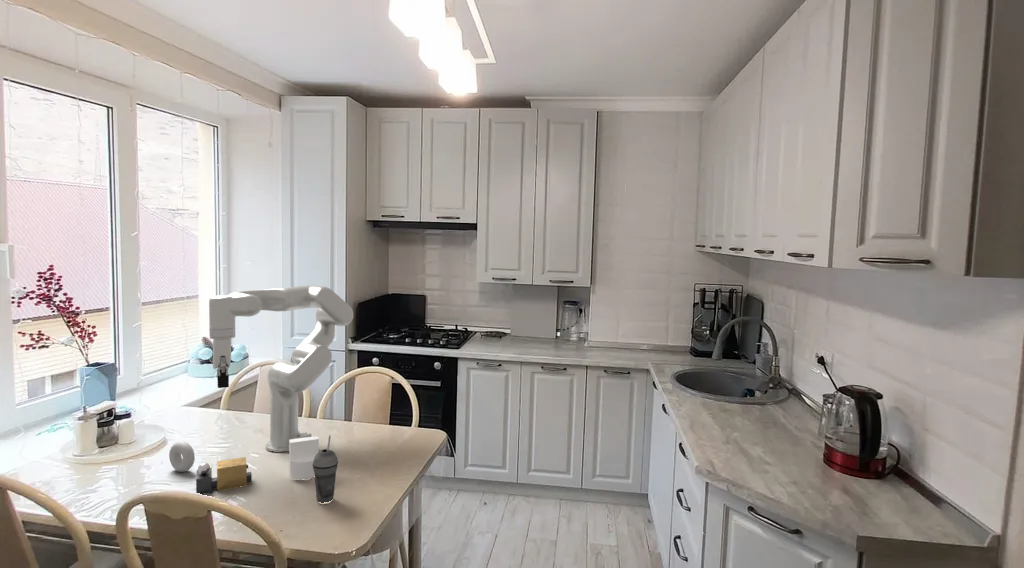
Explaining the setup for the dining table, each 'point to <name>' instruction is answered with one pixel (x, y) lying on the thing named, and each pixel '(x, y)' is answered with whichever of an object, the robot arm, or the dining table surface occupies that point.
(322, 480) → the beverage cup
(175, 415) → the dining table surface
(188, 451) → the donut
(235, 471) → the block
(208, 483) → the rail
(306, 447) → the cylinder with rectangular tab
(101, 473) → the dining table surface
